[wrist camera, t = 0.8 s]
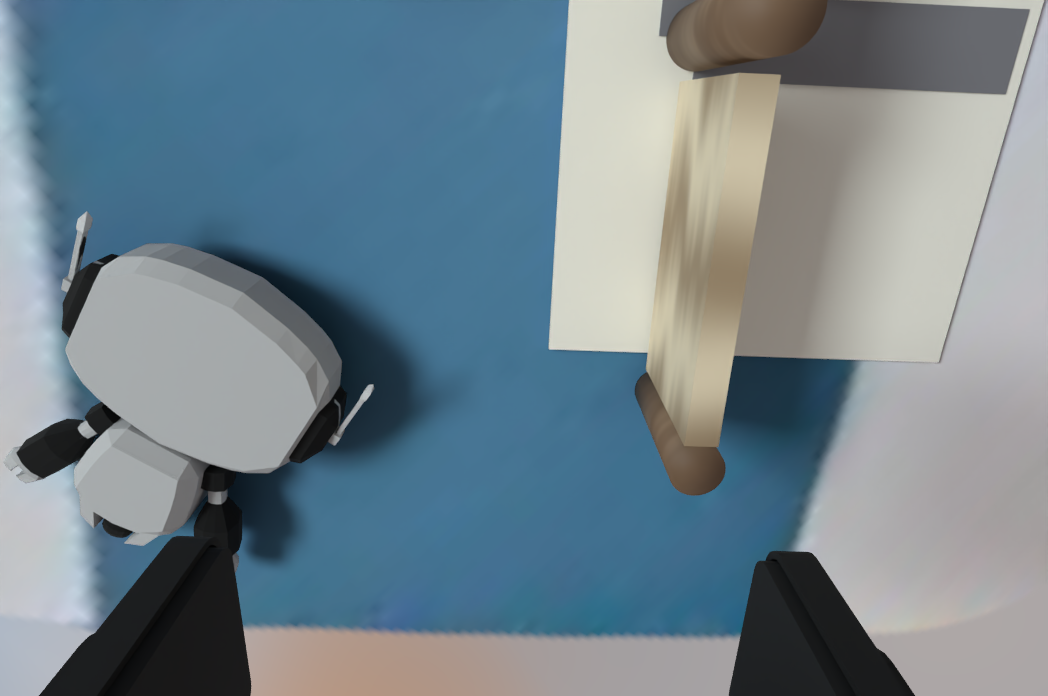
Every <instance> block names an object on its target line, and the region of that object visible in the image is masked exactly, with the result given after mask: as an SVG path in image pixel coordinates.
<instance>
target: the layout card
mask: <svg viewBox="0 0 1048 696" xmlns="http://www.w3.org/2000/svg"><path fill="white" fill-rule="evenodd" d="M694 1H696V0H569V9H568V26H567V43H566V60H565V77H564V94H563V111H562V128H561V145H560V162H559V179H558V196H557V213H556V230H555V247H554V264H553V281H552V298H551V315H550V332H549V349H554V350H583V351H612V352H641V353H648V348H649V339H650V331H651V322H652V314H653V305H654V297H655V288H656V280H657V271H658V263H659V254H660V246H661V237H662V229H663V220H664V212H665V203H666V195H667V186H668V178H669V169H670V161H671V152H672V144H673V135H674V127H675V118H676V110H677V101H678V93H679V84H680V82H681V81H687V80H694V79H701V78H708V77H714V76H721V75H728V74H735V73H754V74H776V75H781V79H780V85H779V90H778V96H777V102H776V108H775V114H774V120H773V126H772V132H771V138H770V144H769V150H768V156H767V161H766V167H765V173H764V179H763V185H762V191H761V197H760V203H759V209H758V215H757V221H756V227H755V232H754V238H753V244H752V250H751V256H750V262H749V268H748V274H747V280H746V286H745V292H744V298H743V303H742V309H741V315H740V321H739V327H738V333H737V339H736V345H735V351H734V356H758V357H787V358H816V359H845V360H874V361H904V362H933V363H938V362H939V359H940V356H941V352H942V349H943V345H944V342H945V338H946V335H947V332H948V328H949V325H950V321H951V318H952V314H953V311H954V308H955V304H956V301H957V297H958V294H959V290H960V287H961V284H962V280H963V277H964V273H965V270H966V266H967V263H968V260H969V256H970V253H971V249H972V246H973V243H974V239H975V236H976V232H977V229H978V225H979V222H980V219H981V215H982V212H983V208H984V205H985V201H986V198H987V195H988V191H989V188H990V184H991V181H992V177H993V174H994V171H995V167H996V164H997V160H998V157H999V153H1000V150H1001V147H1002V143H1003V140H1004V136H1005V133H1006V129H1007V126H1008V123H1009V119H1010V116H1011V112H1012V109H1013V105H1014V102H1015V99H1016V95H1017V92H1018V88H1019V85H1020V81H1021V78H1022V75H1023V71H1024V68H1025V64H1026V61H1027V58H1028V54H1029V51H1030V47H1031V44H1032V40H1033V37H1034V34H1035V30H1036V27H1037V23H1038V20H1039V16H1040V13H1041V10H1042V6H1043V3H1044V0H828V2H827V9H826V13H825V17H824V19H823V22H822V24H821V26H820V28H819V29H818V31H817V33H816V34H815V35H814V36H813V38H812V39H811V40H810V41H809V42H808V43H807V44H806V45H804V46H803V47H802V48H800V49H799V50H797V51H795V52H793V53H790V54H787V55H783V56H778V57H772V58H767V59H762V60H757V61H751V62H746V63H741V64H735V65H730V66H725V67H719V68H714V69H709V70H704V71H697V72H692V71H687V70H684V69H682V68H680V67H679V66H677V65H676V64H675V63H674V62H673V60H672V59H671V57H670V55H669V53H668V50H667V44H666V36H667V33H668V29H669V26H670V23H671V22H672V20H673V18H674V17H675V15H676V14H677V13H678V12H679V11H680V10H681V9H683V8H684V7H686V6H687V5H689V4H691V3H693V2H694Z"/></svg>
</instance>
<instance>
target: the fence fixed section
mask: <svg viewBox="0 0 1048 696" xmlns="http://www.w3.org/2000/svg"><path fill="white" fill-rule="evenodd" d="M827 2H828V0H696V1H694V2H693V3H691V4H689V5H687V6H686V7H684V8H683V9H681V10H680V11H679V12H678V13H677V14H676V15H675V17H674V18H673V20H672V22H671V23H670V26H669V29H668V33H667V36H666V44H667V50H668V53H669V55H670V57H671V59H672V60H673V62H674V63H675V64H676V65H677V66H679V67H680V68H682V69H684V70H687V71H692V72H697V71H704V70H709V69H714V68H719V67H725V66H730V65H735V64H741V63H746V62H751V61H757V60H762V59H767V58H772V57H778V56H783V55H787V54H790V53H793V52H795V51H797V50H799V49H800V48H802V47H803V46H804V45H806V44H807V43H808V42H809V41H810V40H811V39H812V38H813V36H814V35H815V34H816V33H817V31H818V29H819V28H820V26H821V24H822V22H823V19H824V17H825V13H826V9H827Z"/></svg>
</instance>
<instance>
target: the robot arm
mask: <svg viewBox="0 0 1048 696" xmlns="http://www.w3.org/2000/svg"><path fill="white" fill-rule="evenodd" d="M250 694H251V678H250V672H249V665H248V658H247V652H246V644H245V638H244V631H243V624H242V617H241V610H240V604H239V597H238V590H237V583H236V576H235V570H234V563H233V556H232V552H231V550H230V549H229V548H222V547H221V544H220V541H219V540H218V539H217V538H215V537H192V536H176V537H173V538H172V539H171V540H170V541H169V542H167V544H166V545H165V546H164V548H163V549H162V550H161V551H160V553H159V554H158V555H157V556H156V558H155V559H154V560H153V561H152V563H151V564H150V565H149V566H148V568H147V569H146V570H145V571H144V573H143V574H142V575H141V576H140V578H139V579H138V580H137V581H136V583H135V584H134V585H133V586H132V588H131V589H130V590H129V591H128V593H127V594H126V595H125V596H124V598H123V599H122V600H121V601H120V603H119V604H118V605H117V606H116V608H115V609H114V610H113V611H112V613H111V614H110V615H109V616H108V618H107V619H106V620H105V621H104V623H103V624H102V625H101V626H100V628H99V629H98V630H97V631H96V633H94V634H92V635H91V636H89V637H88V638H87V639H86V640H85V641H84V642H83V643H82V644H81V645H80V646H79V647H78V648H77V649H76V651H75V652H74V653H73V654H72V656H71V657H70V658H69V659H68V661H67V662H66V663H65V664H64V665H63V667H62V668H61V669H60V670H59V672H58V673H57V674H56V676H55V677H54V678H53V679H52V680H51V682H50V683H49V684H48V685H47V686H46V688H45V689H44V690H43V691H42V693H41V694H40V695H39V696H250ZM729 696H915V695H914V693H913V692H912V691H911V689H910V688H909V686H908V685H907V683H906V682H905V680H904V679H903V677H902V676H901V674H900V673H899V671H898V670H897V668H896V667H895V665H894V664H893V663H892V661H891V660H890V659H889V658H888V657H887V655H886V654H885V653H883V652H882V651H880V650H879V649H877V648H876V647H875V645H874V644H873V642H872V641H871V639H870V638H869V636H868V635H867V633H866V632H865V630H864V629H863V627H862V626H861V624H860V623H859V621H858V620H857V618H856V617H855V615H854V614H853V612H852V611H851V609H850V608H849V606H848V605H847V603H846V602H845V600H844V599H843V597H842V596H841V594H840V593H839V591H838V590H837V588H836V587H835V585H834V584H833V582H832V581H831V579H830V578H829V576H828V575H827V573H826V572H825V570H824V569H823V567H822V566H821V564H820V563H819V561H818V560H817V558H816V557H815V556H814V555H813V554H812V553H810V552H788V551H772V552H770V553H769V554H768V556H767V558H766V561H758V562H757V564H756V566H755V569H754V574H753V578H752V583H751V588H750V593H749V598H748V603H747V608H746V613H745V617H744V622H743V627H742V632H741V637H740V642H739V647H738V652H737V656H736V661H735V666H734V671H733V676H732V681H731V686H730V690H729Z"/></svg>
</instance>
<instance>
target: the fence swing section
mask: <svg viewBox="0 0 1048 696" xmlns="http://www.w3.org/2000/svg"><path fill="white" fill-rule="evenodd" d="M780 79H781V75H776V74H754V73H735V74H728V75H721V76H714V77H708V78H701V79H694V80H687V81H681V82H680V84H679V93H678V101H677V110H676V118H675V127H674V135H673V144H672V152H671V161H670V169H669V178H668V186H667V195H666V203H665V212H664V220H663V229H662V237H661V246H660V254H659V263H658V271H657V280H656V288H655V297H654V305H653V314H652V322H651V331H650V339H649V348H648V356H647V364H646V370H647V373H645V374H643V375H642V376H641V377H640V378H639V380H638V381H637V383H636V386H635V396H636V399H637V401H638V403H639V406H640V408H641V411H642V413H643V415H644V418H645V420H646V423H647V425H648V428H649V430H650V432H651V435H652V437H653V440H654V442H655V445H656V447H657V449H658V452H659V454H660V457H661V459H662V461H663V464H664V466H665V469H666V471H667V474H668V476H669V478H670V481H671V483H672V485H673V486H674V487H675V488H676V489H677V490H678V491H680V492H681V493H684V494H687V495H702V494H706V493H708V492H710V491H712V490H713V489H715V488H716V487H717V486H718V485H719V484H720V483H721V481H722V480H723V478H724V475H725V462H724V460H723V458H722V456H721V455H720V453H719V451H718V449H717V448H716V447H718V445H719V440H720V434H721V428H722V422H723V416H724V410H725V404H726V398H727V392H728V386H729V380H730V374H731V369H732V363H733V357H734V351H735V345H736V339H737V333H738V327H739V321H740V315H741V309H742V303H743V298H744V292H745V286H746V280H747V274H748V268H749V262H750V256H751V250H752V244H753V238H754V232H755V227H756V221H757V215H758V209H759V203H760V197H761V191H762V185H763V179H764V173H765V167H766V161H767V156H768V150H769V144H770V138H771V132H772V126H773V120H774V114H775V108H776V102H777V96H778V90H779V85H780Z"/></svg>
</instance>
